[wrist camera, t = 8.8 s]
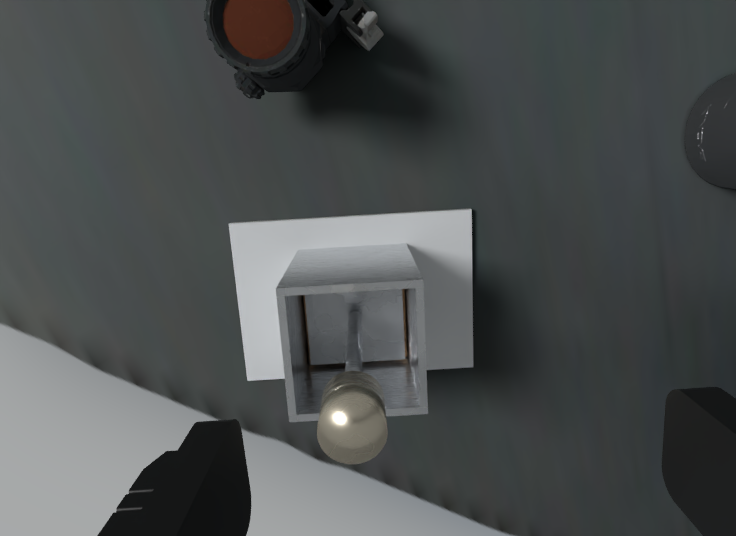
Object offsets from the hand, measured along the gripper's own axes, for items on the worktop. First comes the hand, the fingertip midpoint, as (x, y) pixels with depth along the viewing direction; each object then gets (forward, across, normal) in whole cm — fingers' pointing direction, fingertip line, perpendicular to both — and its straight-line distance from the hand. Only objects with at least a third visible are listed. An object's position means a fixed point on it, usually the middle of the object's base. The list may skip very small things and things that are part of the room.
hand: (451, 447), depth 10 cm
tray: (+34, +3, +7) cm, 35 cm away
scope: (+35, +6, -13) cm, 37 cm away
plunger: (+29, +3, +7) cm, 30 cm away
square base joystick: (+34, +3, +7) cm, 35 cm away
